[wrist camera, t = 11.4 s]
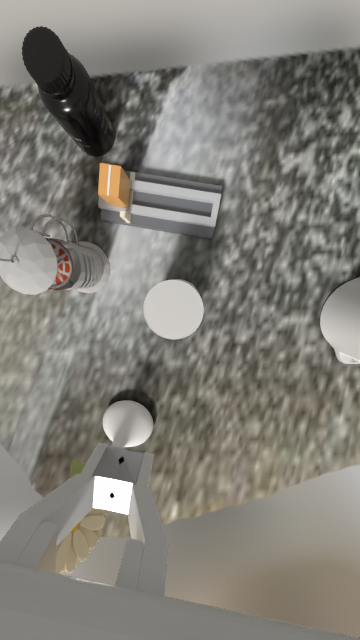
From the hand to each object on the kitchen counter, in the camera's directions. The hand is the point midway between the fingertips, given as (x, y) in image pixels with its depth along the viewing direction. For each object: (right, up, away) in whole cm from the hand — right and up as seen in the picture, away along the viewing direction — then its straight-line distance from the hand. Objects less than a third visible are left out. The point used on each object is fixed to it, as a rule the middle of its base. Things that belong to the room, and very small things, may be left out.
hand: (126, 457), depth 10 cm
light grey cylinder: (+3, +11, +28) cm, 30 cm away
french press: (-15, +18, +27) cm, 36 cm away
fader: (-7, +28, +22) cm, 37 cm away
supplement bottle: (-11, +39, +22) cm, 46 cm away
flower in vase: (-9, -15, +34) cm, 38 cm away
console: (-1, +27, +24) cm, 36 cm away
